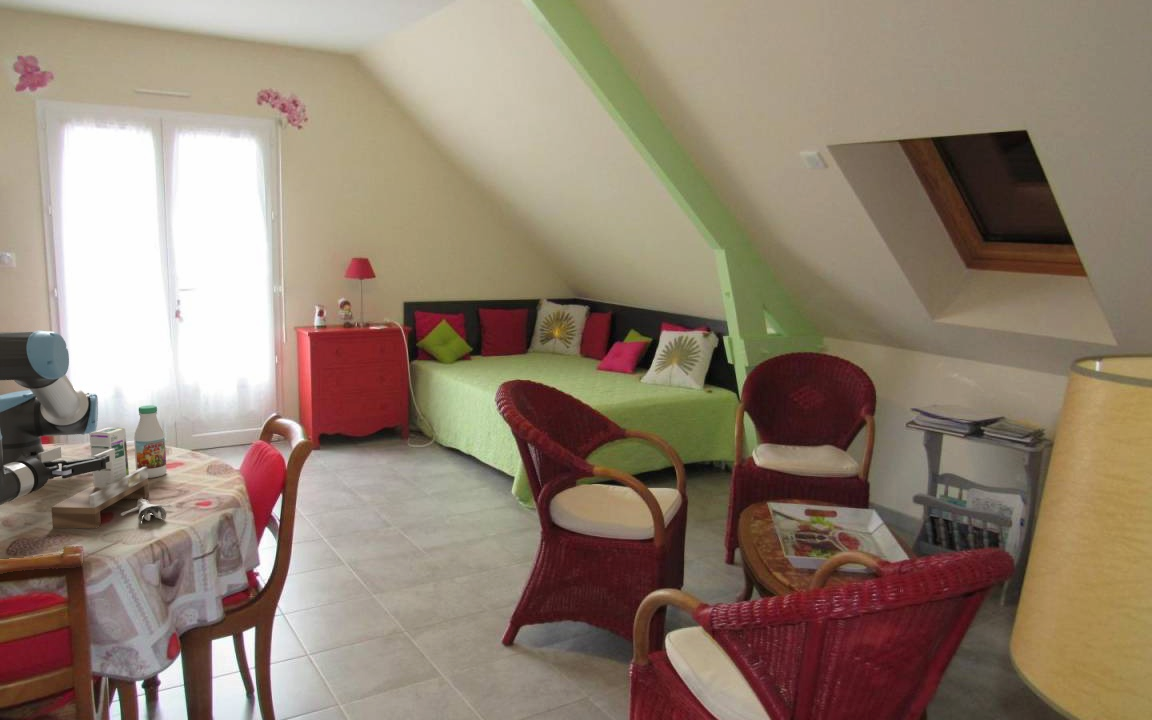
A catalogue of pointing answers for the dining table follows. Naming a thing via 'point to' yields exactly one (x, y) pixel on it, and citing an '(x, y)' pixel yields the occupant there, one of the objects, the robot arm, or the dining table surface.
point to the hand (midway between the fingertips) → (86, 453)
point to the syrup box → (119, 466)
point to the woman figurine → (148, 510)
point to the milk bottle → (150, 443)
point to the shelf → (98, 501)
